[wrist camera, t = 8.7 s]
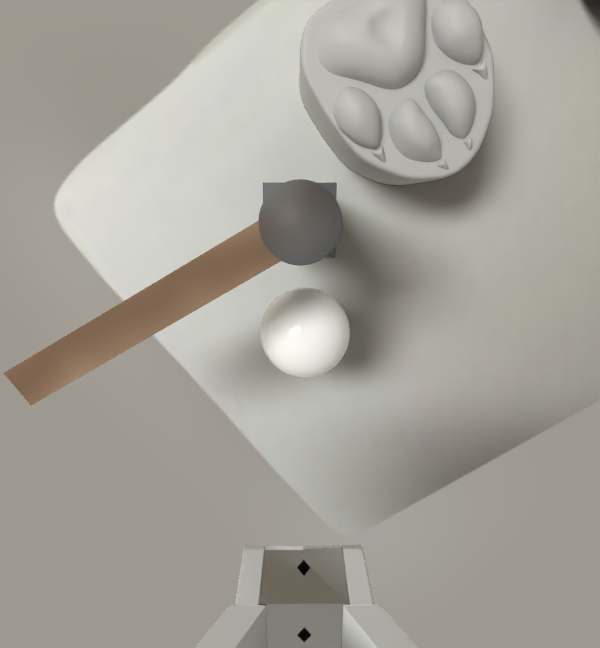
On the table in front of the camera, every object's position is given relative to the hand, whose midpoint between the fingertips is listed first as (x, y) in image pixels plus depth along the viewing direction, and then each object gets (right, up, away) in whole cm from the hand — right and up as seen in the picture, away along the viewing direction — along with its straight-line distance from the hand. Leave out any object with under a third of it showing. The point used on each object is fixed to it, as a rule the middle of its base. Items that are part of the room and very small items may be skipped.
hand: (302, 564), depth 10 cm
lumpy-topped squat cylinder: (+7, +23, +22) cm, 33 cm away
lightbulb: (0, +8, +26) cm, 27 cm away
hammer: (-6, +8, +11) cm, 15 cm away
